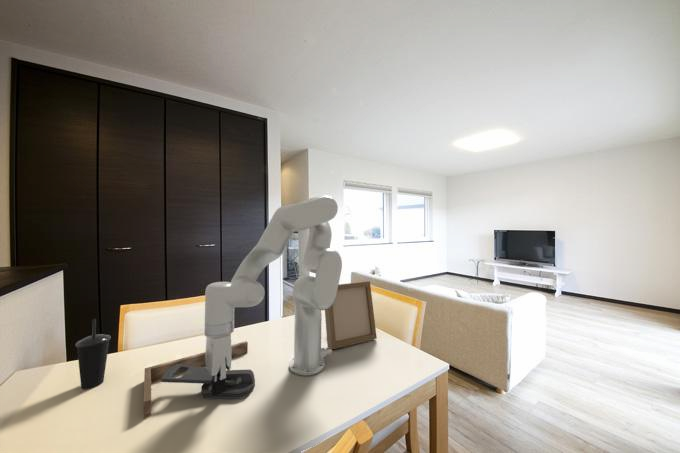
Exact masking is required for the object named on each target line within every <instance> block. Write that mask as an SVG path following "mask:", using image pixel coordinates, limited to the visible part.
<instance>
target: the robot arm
mask: <svg viewBox="0 0 680 453" xmlns="http://www.w3.org/2000/svg"><path fill="white" fill-rule="evenodd" d="M338 209H339V206H338V202H336V199H334V198H333V197H332V196H329V195H322V196H316V197H310V198H306V199H305V200H303V201H302V202H299V203H293V204H286V205H281V206H279V207H278V208H277V209H276V210H275V211H274V213H273V215H272V217H271V219H270V220H269V222H268V224H267V225H266V228H265V229H264V231H263V233H262V235H261V236H260V239H259V240H258V242H257V244H256V245H255V246H254V247H253V248H252V249H251V251H250V252H248V254H247V255H246V256H245V257H244V259H243V260H242V261H241V263H240V265H239V266H238V267H237V270H236V271H235V274H234V275H233V276H232V278H231V280H230V281H216V282H211V283H210V284H208V285H207V286H206V288H205V293H204V294H205V295H204V296H205V298H204V299H205V301H204V337H206V339H205V351H204V352H205V364H206V365H205V366H206V367H205V368H207V369H208V371H209V373H210V375H211V376H212V378H213V379H212V386H211V393H212V395H213V396H215V395H218V394H220V393H223V392H225V379H226V371H229V370H232V358H231V345H232V335H231V334H232V333H234V331H235V308H251V307H255V306H257V305H259V304H260V303H261V302H262V301H263V300H264V299H265V292H266V291H265V288H264V286H263V285H262V284H261V282H259V281H257V280H258V278H259V276H260V274H261V273H262V272H263V270H264V269H265V268H266V267H267V266H268V265H269V264H271V263H272V262H274V261H276V260H278V259H279V258H281V257H282V256H283V254H284V252H285V249H286V248H287V246H288V243H289V242H290V240H291V238H292V236H293V234H294V232H300V231H305V230H308V236H307V241H306V246H305V250H304V254H303V259H302V265H303V268H304V269H305V271H308V272H309V273H311V274H315V276H310V275H304V276H300V277H299V278H298V279H296V281H295V282H294V284H293V287H292V299H293V307H294V331H293V333H294V335H293V336H294V337H293V338H294V340H293V347H294V348H293V358H291V360H290V361H289V370H290V372H292V373H293V374H295V375H299V376H306V377H307V376H313V375H316V374H318V373H321V372H322V371H323V370H324V369H325V367H326V361H325V358H326V356H329V355H332V354H333V349H330V348H327V349H326V348H325V347H322V317H323V316H322V311H325V310H326V309H328V308H330V307H331V305H332V304H333V303H334V300H335V298H336V294H337V290H338V285H339V283H340V281H341V273H342V269H343V263H342V262H343V261H342V257H341V255H340V253H339V252H338V251H337V250H336V249H333V248H331V242H332V233H333V232H332V228H331V226H330V222H329V221H332V220H333V219H335V217H336V215H337V213H338Z"/></svg>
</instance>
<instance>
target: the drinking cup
mask: <svg viewBox="0 0 680 453" xmlns="http://www.w3.org/2000/svg"><path fill="white" fill-rule="evenodd" d="M96 323H97V319H96V318H93V319H92V331H91V332H92V335H88V336H86V337H84V338H82V339H80V340H78V341H77V342H76V343H75V347H76V349H77V359H78V361H77V362H78V370H79V377H80V387H81V389H82V390H90V389H93V388H95V387H98V386H100V385H102V384H103V383H104V379H105V375H106V374H105V373H106V366H107V359H108V353H109V346H110V345H109V343H110V340H111V338H112V337H111V335H110V334H103V333H100V334H96V330H97V329H96V328H97V324H96Z"/></svg>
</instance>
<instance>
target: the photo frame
mask: <svg viewBox="0 0 680 453" xmlns="http://www.w3.org/2000/svg"><path fill="white" fill-rule="evenodd" d="M324 316H325V317H324V318H325V330H326V341H327V342H326V343H327V349H331V350H336V349H339V348H343V347H347V346H351V345H356V344H361V343H364V342H368V341H372V340H378V339H377V336H378V335H377V328H376V323H375V322H376V321H375V313H374V304H373V294H372V287H371V280H370V281H358V282H349V283H342V284H339V285H338V290H337V294H336V298H335V300H334V303H333V304H332V305H331V307H330V308H328V309H326V310H324Z"/></svg>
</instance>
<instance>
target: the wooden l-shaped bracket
mask: <svg viewBox="0 0 680 453" xmlns="http://www.w3.org/2000/svg"><path fill="white" fill-rule="evenodd" d="M248 345H249V344H248V341H242V342H238V343H234V344H231V359H232V358H235V357H239V356H241V355H245V354H248V352H249V350H248V348H249V347H248ZM176 364H180V365H188V366H194V367H202V368H203V367H205V366H206V364H205V351H204V352H201V353H197V354H193V355H190V356H186V357H183V358H178V359H175V360H170V361H167V362H164V363H160V364H156V365H152V366H149V367H145V368H144V382H143V384H144V386H143V387H144V388H143V418H144V419H145V418H147V417H150V416H152V382H154V381H157V380H161V379H162V377H163V375H164V374H165V373H166V372H167V371H168V370H169V369H170V368H171V367H173V366H175V365H176ZM186 371H187V370H182V369H180V370H179V371H177V372H176V373H175V374H174V375H178V374H180V373H185V372H186ZM174 375H173V376H174Z"/></svg>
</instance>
